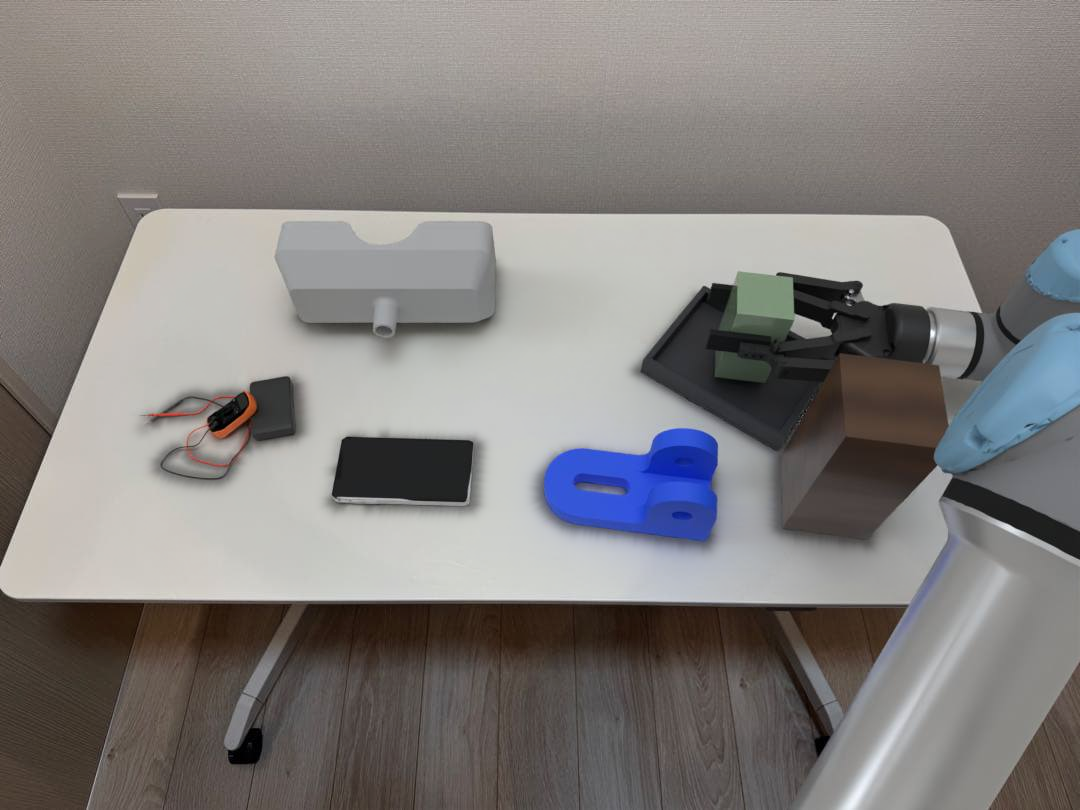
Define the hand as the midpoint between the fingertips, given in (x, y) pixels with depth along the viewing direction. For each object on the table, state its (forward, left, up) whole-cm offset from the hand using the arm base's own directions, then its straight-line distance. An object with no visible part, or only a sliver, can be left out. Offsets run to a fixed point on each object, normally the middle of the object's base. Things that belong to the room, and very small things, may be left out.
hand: (709, 315), depth 86 cm
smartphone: (-33, +19, -10) cm, 39 cm away
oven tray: (+2, -5, -10) cm, 11 cm away
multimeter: (-42, +39, -10) cm, 58 cm away
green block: (+2, -5, -7) cm, 9 cm away
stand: (-7, -21, -10) cm, 24 cm away
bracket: (-20, -3, -10) cm, 23 cm away
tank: (-16, +35, -10) cm, 39 cm away
